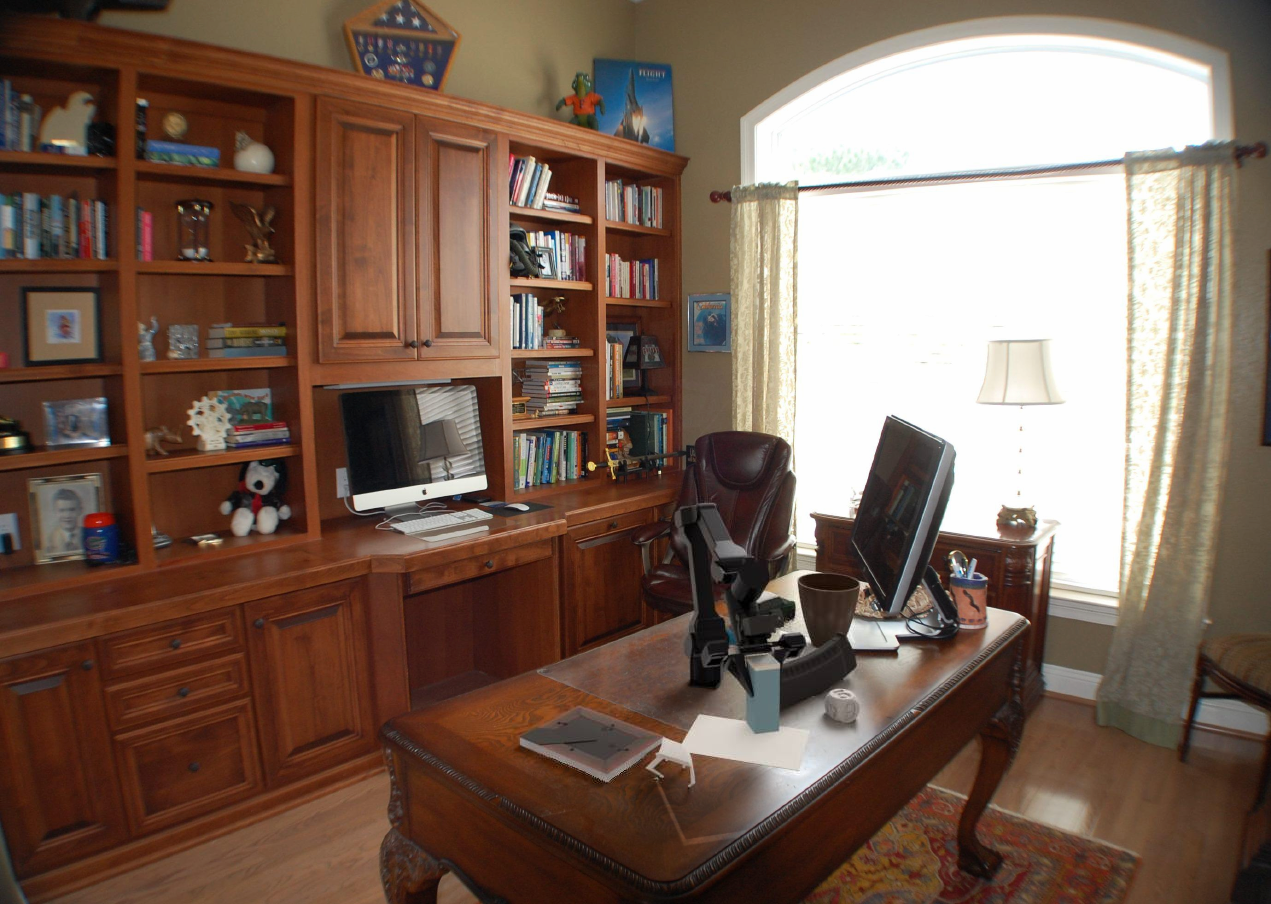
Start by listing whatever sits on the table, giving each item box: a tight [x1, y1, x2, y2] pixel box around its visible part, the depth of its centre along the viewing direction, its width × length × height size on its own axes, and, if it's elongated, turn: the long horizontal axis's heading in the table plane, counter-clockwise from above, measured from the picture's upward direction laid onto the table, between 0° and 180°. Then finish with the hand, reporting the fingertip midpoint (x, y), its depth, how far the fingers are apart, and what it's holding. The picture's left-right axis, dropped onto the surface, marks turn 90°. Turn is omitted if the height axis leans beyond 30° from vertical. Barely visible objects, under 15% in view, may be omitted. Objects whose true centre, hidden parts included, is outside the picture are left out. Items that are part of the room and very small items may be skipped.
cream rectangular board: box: [681, 713, 811, 771], centre depth 151 cm, size 22×15×1 cm
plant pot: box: [797, 572, 861, 649], centre depth 197 cm, size 15×15×16 cm
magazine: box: [779, 632, 858, 712], centre depth 169 cm, size 17×3×30 cm
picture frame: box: [519, 705, 665, 783], centre depth 151 cm, size 16×2×22 cm
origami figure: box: [645, 736, 696, 788], centre depth 139 cm, size 12×8×5 cm
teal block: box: [745, 653, 780, 734], centre depth 144 cm, size 4×4×12 cm
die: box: [823, 688, 861, 724], centre depth 160 cm, size 5×5×5 cm
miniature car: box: [757, 590, 797, 621], centre depth 215 cm, size 9×18×8 cm, turn 130°
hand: (765, 695), depth 142 cm, fingers closed on teal block, 4 cm apart
